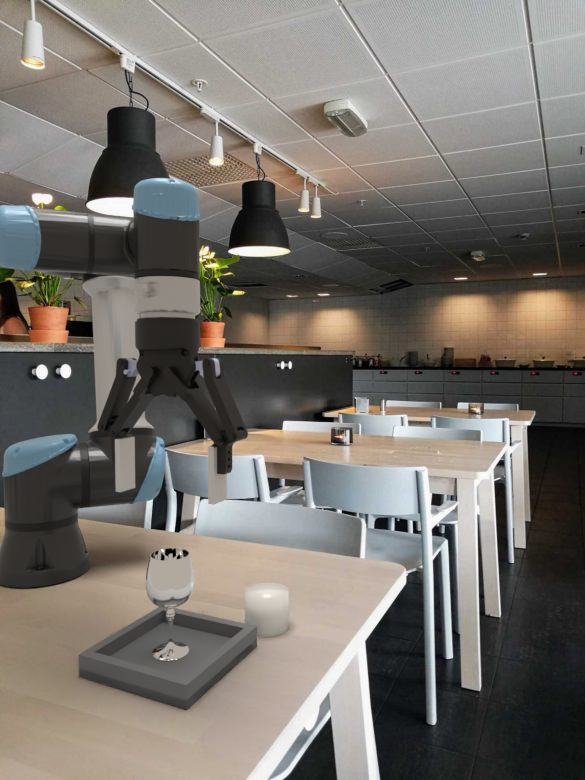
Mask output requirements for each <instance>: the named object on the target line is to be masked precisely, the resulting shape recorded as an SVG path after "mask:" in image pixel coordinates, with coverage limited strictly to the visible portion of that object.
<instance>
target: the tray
mask: <svg viewBox="0 0 585 780" xmlns="http://www.w3.org/2000/svg"><path fill="white" fill-rule="evenodd" d="M167 610H168V608H163V607H159V606H157V608H155V609H153V610H152V611H150V612H148V613H146V614H144V615H143V616H141V617H140V618H138V619H136V620H134V621H133V622H132V623H129V624H127V625H126V626H124V627H122V628H121V629H119V630H118V631H116V632H114V633H113V634H111V635H109V636H107V637H106V638H104V639H102V640H101V641H99V642H98V643H96V644H94V645H92V646H90V647H89V648H87V649H85V650H84V651H82V652H80V653H78V677H79V678H82V679H85V680H88V681H92V682H94V683H98V684H102V685H105V686H108V687H111V688H114V689H117V690H121V691H124V692H127V693H130V694H134V695H137V696H141V697H144V698H147V699H149V700H153V701H157V702H159V703H163V704H166V705H170V706H173V707H177V708H179V709H182V710H188V709H189V708H190V707H191V706H193V704H195V703H196V702H197V701H199V700H200V698H201V697H203V696H204V695H205V694H206V693H207V692H208V691H209V690H210V689H211V688H213V686H215V685H216V684H217V683H218V682H219V681H220V680H222V678H224V677H225V676H226V675H228V673H229V672H230V671H232V669H233V668H235V667H236V666H237V665H238V664H239V663H240V662H241V661H242V660H244V659H245V658H246V657H247V656H248V655H249V654H250V653H251V652H252V651H254V650H255V649H256V647H258V636H257V626H255V625H250V624H245V622H241V621H236V620H232V619H227V618H222V617H218V616H213V615H210V614H209V615H208V614H203V613H199V612H194V611H189V610H185V609H180V608H177V607H174V608H173V610H174V613H175V616H174V620H173V628H172V631H173V641H174V642H179V643H183V644H186V645H187V646H188V647H189V653H188V654H187V655H186V656H185V657H183V658H181V659H178V660H174V661H160V660H157V659H155V658H154V657H153V656H152V651H153V649H154V648H156V647H157V646H159V645H161V644H164V643H168V639H169V626H168V621H167V617H166V614H167Z"/></svg>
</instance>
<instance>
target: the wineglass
mask: <svg viewBox="0 0 585 780" xmlns="http://www.w3.org/2000/svg"><path fill="white" fill-rule="evenodd" d="M148 559H149V560H148V563H147V568H146V572H145V591H146V595H147V597H148V600H149V601H150V602H151V603H152V604H153V605H154V606H157V607H163V608H168V610H167V614H166V617H167V621H168V626H169V639H168V643H164V644H161V645H159V646H157V647H156V648H154V649H153V651H152V656H153V657H154V658H155V659H157V660H160V661H174V660H178V659H181V658H183V657H185V656H186V655H187V654H188V653H189V647H188V646H187V645H186V644H183V643H179V642H174V641H173V631H172V628H173V620H174V616H175V613H174V610H173V608H177V607H180V606H182V605H183V604H185V603H187V602H188V601H189V600H190V598H191V597H192V595H193V592H194V589H195V571H194V565H193V561H192V557H191V553H190V551H189V550H188V549H184V548H181V547H180V548H179V547H167V548H161V549H157V550H155V551H152V553H150V555H149V558H148Z"/></svg>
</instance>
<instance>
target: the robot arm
mask: <svg viewBox="0 0 585 780" xmlns="http://www.w3.org/2000/svg"><path fill="white" fill-rule="evenodd" d="M199 201H200V199H199V193H198V190H197V189H196V188H195V187H194V186H193V185H192V184H190V183H189V182H187V181H183V180H181V179H180V180H179V179H174V178H168V177H167V178H166V177H156V178H155V177H154V178H152V177H151V178H148V179H143V180H140V181H139V182H138V183H136V184H135V186H134V188H133V202H132V205H131V210H132V213H133V216H132V217H131V216H125V215H124V216H123V215H112V214H101V213H91V212H79V211H69V210H62V209H52V208H44V207H43V208H41V207H31V206H30V205H26V204H25V205H24V204H23V205H22V204H21V205H7V204H4V205H3V204H2V205H0V267H2V268H4V269H13V270H20V271H21V272H22V271H23V272H30V271H31V272H37V273H41V274H44V275H49V276H53V277H58V278H59V277H60V278H65V279H66V278H69V279H78V280H79V279H80V280H82V289H83V290H84V292H86V293H87V294H88V295H89V296H90V297H91V311H92V313H91V315H92V334H93V335H92V336H93V337H92V338H93V359H94V361H93V362H94V382H95V383H94V384H95V406H96V407H95V408H96V422H95V424H94V425H93V426H92V427H91V428H90V429H89V430H88V441H78V438H77V436H76V434H73V433H66V434H64V433H63V434H54V435H46V436H41V437H40V436H39V437H35V438H31V439H27V440H23V441H20V442H19V441H18V442H16V443H14V444H12V445H10V446H9V447H8V448H6V450H5V451H4V454H3V469H2V470H3V471H2V473H1V474H2V475H1V477H3V493H4V495H3V498H4V500H3V501H4V534H3V537H2V541H1V544H0V585H1V586H5V587H10V588H38V587H46V586H51V585H55V584H56V585H57V584H60V583H64V582H66V581H70V580H73V579H77V578H78V577H79V576H82V575H83V574H85V573H87V571H88V570H89V569H90V564H91V563H90V552H89V549H88V548H87V547H86V543H85V540H84V537H83V534H82V530H81V529H80V525H79V510H80V509H85V508H87V509H88V508H97V507H108V506H117V505H119V506H121V505H126V504H127V505H128V504H129V505H134V504H136V503H143V502H150V501H152V500H154V499H156V498H157V496H158V495H159V494H160V491H161V489H162V485H163V481H164V477H165V476H164V475H165V472H166V471H165V469H166V448H165V447H166V446H165V441H164V439H163V438H162V437H159V436H156V435H155V427H154V426H153V425H152V424H151V423H149V422H148V420H147V419H146V412H145V411H146V410H147V408H148V406H149V405H150V404H151V402H152V401H153V400H154V398H156V397H163V396H165V397H169V398H176V397H179V398H180V399H181V400H182V401H183V402H185V403H186V405H187V406H188V408H190V410H191V411H192V413H193V414H194V416H195V417H196V419H197V421H198V422H199V423H200V425H201V426H202V428H203V429H204V430H205V432H206V434H207V435H208V436H209V438H210V439H211V441H212V444H211V445H209V446H207V479H208V480H207V483H208V484H207V490H208V491H207V493H208V494H207V495H208V496H207V497H208V499H207V500H208V501H207V503H208V505H217V504H218V503H221V502H224V501H226V500H227V499H228V496H227V495H228V485H227V484H228V483H227V482H228V481H227V479H228V478H227V477H228V476H227V475H228V474H229V473H230V474H231V473H232V470H233V445H234V444H235V443H236V442H240V441H242V440H246V439H247V438H248V436H249V433H248V429H247V428H246V425H245V423H244V420H243V418H242V415H241V413H240V411H239V409H238V406H237V403H236V401H235V399H234V396H233V395H232V392H231V390H230V388H229V385H228V382H227V380H226V378H225V370H224V362H223V359H221V358H217V357H216V358H215V357H214V358H213V357H212V358H209V357H206V358H204V359H203V360H200V358H199V349H200V348H201V322H200V321H199V319H198V318H197V319H196V316H198V315H200V313H201V282H200V281H201V280H200V270H201V268H200V267H201V265H200V258H201V257H200V255H201V253H200V246H201V245H200V244H201V243H200V240H201V239H200V238H201V237H200V226H201V225H200V220H201V218H202V215H201V214H200V213H201V212H200V203H199ZM199 376H201V377H202V378H203V380H204V383H205V387H206V389H207V392H208V393H209V396H210V398H211V401H212V403H213V404H212V403H211V402H210V400H209V398H208V397H207V396H206V394H205V393H206V392H205V389H204V388H203V386H202V385H201V383H200V382H199V381H198V377H199Z"/></svg>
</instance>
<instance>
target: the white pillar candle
mask: <svg viewBox="0 0 585 780" xmlns="http://www.w3.org/2000/svg"><path fill="white" fill-rule="evenodd" d="M244 623H245V624H250V625H255V626H257V637H262V638H270V637H276V636H280V635H282V634H283V635H284V633H286V632H287V631H288V630H289V629H290V589H289V587H287V585H284V584H282V583H277V582H258V583H255V584H251V585H249V586H248V587H246V588H245V590H244Z"/></svg>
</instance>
